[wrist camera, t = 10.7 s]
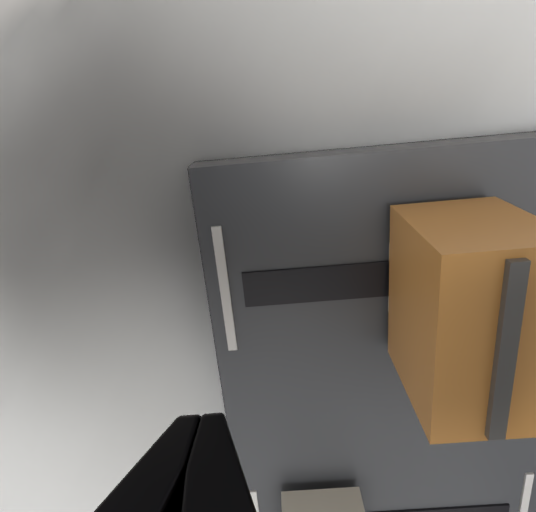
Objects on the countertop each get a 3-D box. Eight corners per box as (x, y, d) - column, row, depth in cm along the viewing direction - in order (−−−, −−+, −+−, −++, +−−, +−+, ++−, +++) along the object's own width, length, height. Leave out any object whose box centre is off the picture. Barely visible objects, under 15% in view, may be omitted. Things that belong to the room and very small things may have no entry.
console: (581, 127, 13) (613, 131, 12) (510, 549, 20) (525, 579, 19) (194, 162, 14) (186, 169, 12) (254, 564, 21) (253, 594, 19)
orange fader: (495, 196, 12) (599, 246, 8) (479, 344, 14) (559, 442, 10) (390, 204, 12) (445, 259, 9) (388, 351, 14) (432, 450, 10)
